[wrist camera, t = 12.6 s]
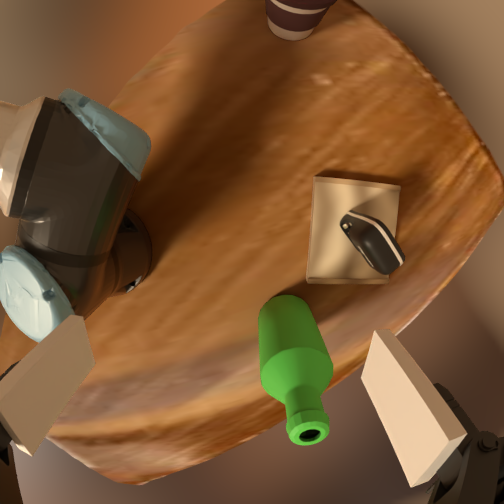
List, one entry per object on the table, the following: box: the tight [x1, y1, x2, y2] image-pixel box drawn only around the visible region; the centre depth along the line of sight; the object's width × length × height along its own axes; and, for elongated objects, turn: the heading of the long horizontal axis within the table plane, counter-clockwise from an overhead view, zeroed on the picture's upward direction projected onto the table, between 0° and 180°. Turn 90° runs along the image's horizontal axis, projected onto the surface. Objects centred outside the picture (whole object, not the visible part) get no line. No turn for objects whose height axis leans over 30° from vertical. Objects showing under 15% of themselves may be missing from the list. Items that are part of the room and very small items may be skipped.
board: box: [306, 176, 401, 284], centre depth 41 cm, size 14×16×2 cm
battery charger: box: [340, 210, 405, 275], centre depth 35 cm, size 7×4×11 cm, turn 41°
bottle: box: [258, 295, 333, 445], centre depth 34 cm, size 9×9×25 cm
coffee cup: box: [265, 0, 337, 41], centre depth 26 cm, size 10×10×15 cm
